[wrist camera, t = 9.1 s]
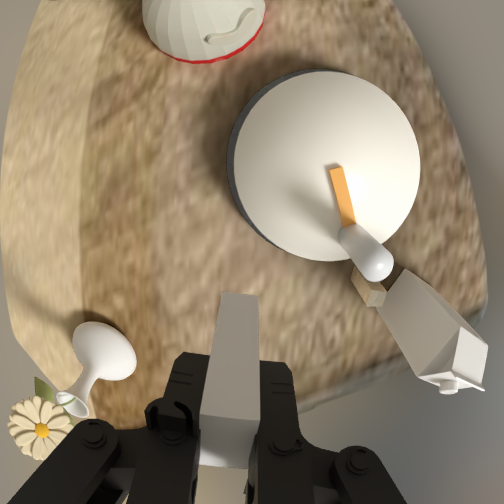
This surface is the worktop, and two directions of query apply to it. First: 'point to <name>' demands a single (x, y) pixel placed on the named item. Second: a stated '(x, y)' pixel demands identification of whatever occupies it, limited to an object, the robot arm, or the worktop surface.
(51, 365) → the worktop surface
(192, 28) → the kitchen timer
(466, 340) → the milk carton
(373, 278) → the dial
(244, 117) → the dial base
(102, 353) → the flower in vase
